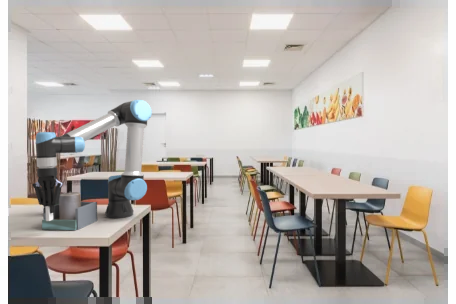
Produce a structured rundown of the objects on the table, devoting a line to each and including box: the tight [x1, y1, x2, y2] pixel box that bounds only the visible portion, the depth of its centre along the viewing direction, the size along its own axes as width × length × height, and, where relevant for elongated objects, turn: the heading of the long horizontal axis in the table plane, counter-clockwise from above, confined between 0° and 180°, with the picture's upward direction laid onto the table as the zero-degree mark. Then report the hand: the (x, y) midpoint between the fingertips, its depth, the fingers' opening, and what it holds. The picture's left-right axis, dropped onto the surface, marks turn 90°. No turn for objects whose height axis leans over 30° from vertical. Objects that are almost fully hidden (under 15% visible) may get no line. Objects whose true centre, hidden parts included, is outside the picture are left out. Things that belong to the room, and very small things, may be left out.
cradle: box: [42, 201, 98, 231], centre depth 149 cm, size 18×17×10 cm
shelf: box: [41, 218, 77, 231], centre depth 148 cm, size 18×16×4 cm
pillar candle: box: [59, 191, 82, 220], centre depth 149 cm, size 10×10×15 cm
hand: (49, 220), depth 132 cm, fingers closed
